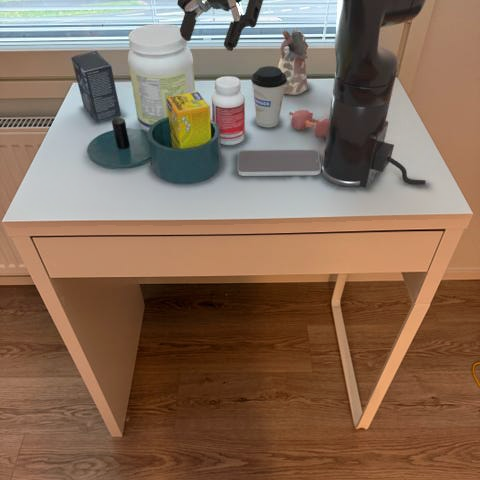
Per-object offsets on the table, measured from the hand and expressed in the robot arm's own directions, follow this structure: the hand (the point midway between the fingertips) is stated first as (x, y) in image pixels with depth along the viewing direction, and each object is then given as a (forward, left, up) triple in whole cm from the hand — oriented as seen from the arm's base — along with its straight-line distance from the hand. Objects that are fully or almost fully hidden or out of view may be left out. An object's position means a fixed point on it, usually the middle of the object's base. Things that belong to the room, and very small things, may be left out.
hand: (205, 43), depth 82 cm
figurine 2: (-16, -18, -17) cm, 30 cm away
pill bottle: (-2, -3, -18) cm, 19 cm away
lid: (+13, +11, -18) cm, 24 cm away
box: (+27, +1, -18) cm, 33 cm away
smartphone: (-15, +1, -18) cm, 24 cm away
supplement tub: (+12, -2, -18) cm, 22 cm away
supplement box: (0, +7, -18) cm, 19 cm away
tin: (0, +9, -18) cm, 20 cm away
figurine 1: (-3, -29, -18) cm, 35 cm away
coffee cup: (-6, -13, -18) cm, 23 cm away
